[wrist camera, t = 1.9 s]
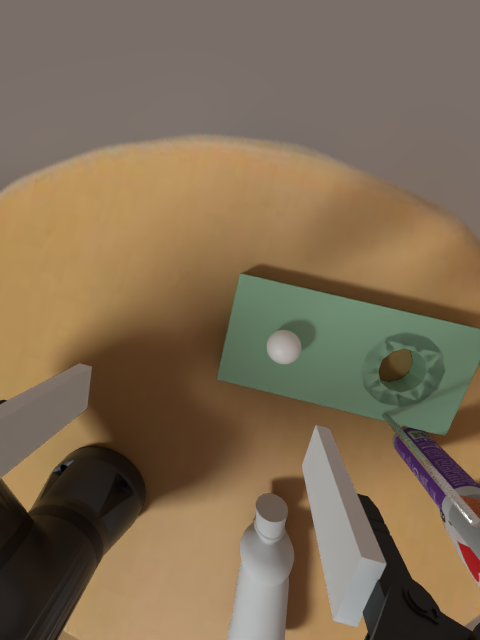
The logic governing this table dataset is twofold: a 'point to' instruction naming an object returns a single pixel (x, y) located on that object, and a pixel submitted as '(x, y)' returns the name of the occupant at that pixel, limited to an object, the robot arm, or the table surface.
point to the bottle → (263, 574)
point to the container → (452, 473)
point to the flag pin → (440, 478)
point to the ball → (283, 347)
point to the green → (349, 354)
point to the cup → (463, 550)
